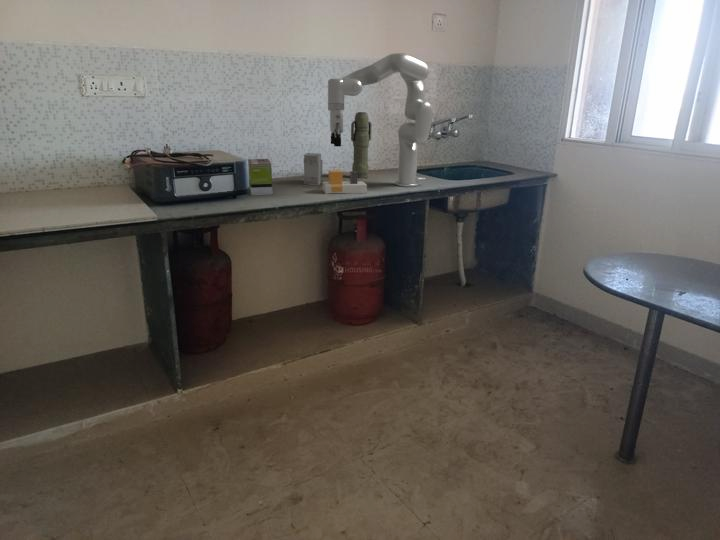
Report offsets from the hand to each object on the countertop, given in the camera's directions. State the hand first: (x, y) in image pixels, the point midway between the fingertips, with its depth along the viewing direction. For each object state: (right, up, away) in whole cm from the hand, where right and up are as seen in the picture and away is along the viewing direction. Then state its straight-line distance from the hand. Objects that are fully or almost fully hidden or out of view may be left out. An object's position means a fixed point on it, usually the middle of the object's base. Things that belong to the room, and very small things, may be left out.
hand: (335, 145), depth 248 cm
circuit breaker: (-13, -13, +29) cm, 34 cm away
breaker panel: (+4, -21, +8) cm, 23 cm away
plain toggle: (+8, -18, +8) cm, 21 cm away
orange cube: (0, -17, +6) cm, 18 cm away
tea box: (-36, -22, +2) cm, 42 cm away
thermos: (+12, -7, +47) cm, 49 cm away
